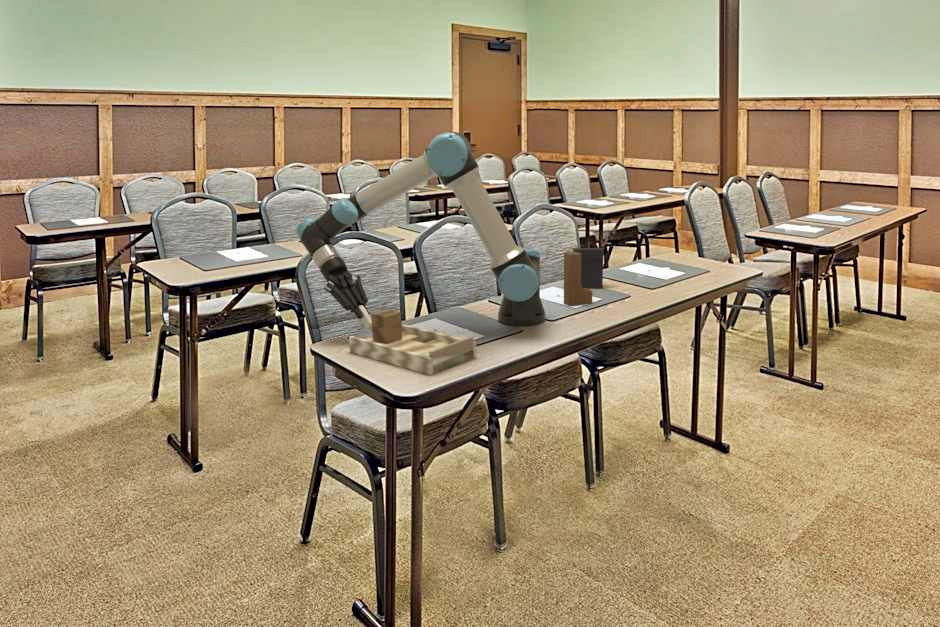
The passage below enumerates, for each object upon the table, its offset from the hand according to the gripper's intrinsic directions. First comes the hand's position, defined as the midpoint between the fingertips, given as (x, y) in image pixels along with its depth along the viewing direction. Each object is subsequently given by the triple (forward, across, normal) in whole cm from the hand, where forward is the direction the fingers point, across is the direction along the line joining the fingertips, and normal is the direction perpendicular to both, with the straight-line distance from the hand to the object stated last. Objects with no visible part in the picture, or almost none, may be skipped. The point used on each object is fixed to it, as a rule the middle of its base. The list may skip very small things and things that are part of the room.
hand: (370, 325), depth 224 cm
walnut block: (+7, 0, +3) cm, 8 cm away
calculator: (+13, -96, +5) cm, 97 cm away
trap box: (+16, 0, +8) cm, 18 cm away
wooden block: (+20, -75, +12) cm, 79 cm away
